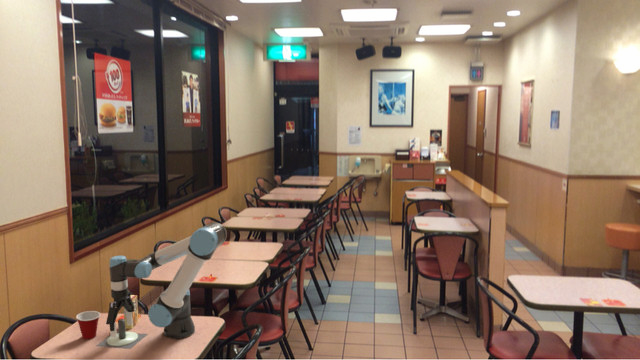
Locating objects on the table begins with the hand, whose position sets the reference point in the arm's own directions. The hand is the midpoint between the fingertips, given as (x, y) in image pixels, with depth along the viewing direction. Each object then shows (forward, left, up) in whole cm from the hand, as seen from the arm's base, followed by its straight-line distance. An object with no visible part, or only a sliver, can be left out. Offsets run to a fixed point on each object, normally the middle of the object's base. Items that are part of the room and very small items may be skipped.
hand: (121, 330), depth 239 cm
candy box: (+5, -17, -6) cm, 18 cm away
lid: (0, 0, -5) cm, 5 cm away
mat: (0, 0, -5) cm, 5 cm away
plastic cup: (+18, -1, -6) cm, 19 cm away
